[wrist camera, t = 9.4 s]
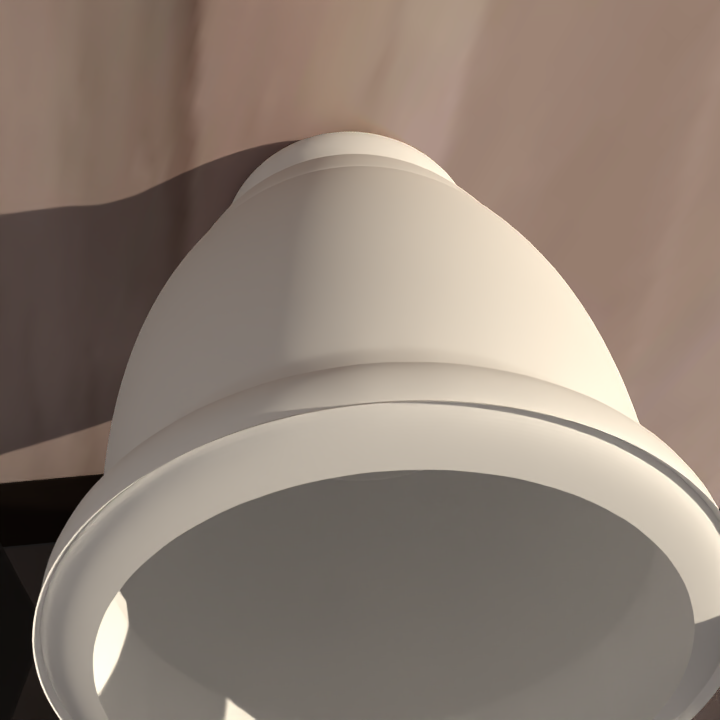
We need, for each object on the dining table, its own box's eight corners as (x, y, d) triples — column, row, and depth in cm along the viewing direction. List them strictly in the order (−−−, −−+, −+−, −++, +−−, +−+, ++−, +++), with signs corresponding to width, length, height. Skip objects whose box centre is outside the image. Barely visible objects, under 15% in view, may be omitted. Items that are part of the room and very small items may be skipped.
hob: (268, 458, 27) (262, 526, 24) (305, 648, 34) (304, 719, 31) (-129, 495, 27) (-186, 569, 24) (-8, 678, 34) (-40, 752, 31)
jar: (562, 275, 23) (856, 692, 11) (335, 429, 26) (355, 889, 14) (373, 9, 18) (505, 205, 6) (122, 238, 21) (-143, 683, 9)
